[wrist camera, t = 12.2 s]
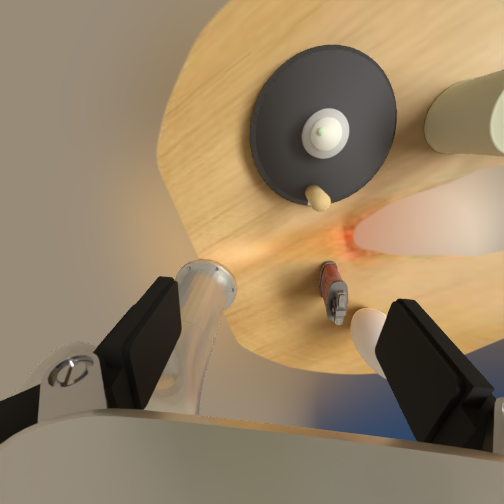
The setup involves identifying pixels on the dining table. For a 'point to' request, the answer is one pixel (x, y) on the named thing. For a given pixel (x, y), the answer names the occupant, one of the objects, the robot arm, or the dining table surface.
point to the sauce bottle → (368, 335)
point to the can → (469, 117)
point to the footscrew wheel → (325, 126)
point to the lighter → (333, 292)
